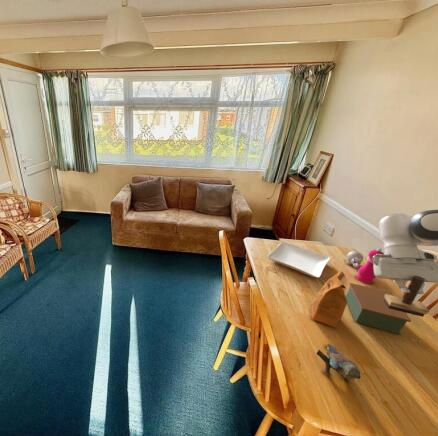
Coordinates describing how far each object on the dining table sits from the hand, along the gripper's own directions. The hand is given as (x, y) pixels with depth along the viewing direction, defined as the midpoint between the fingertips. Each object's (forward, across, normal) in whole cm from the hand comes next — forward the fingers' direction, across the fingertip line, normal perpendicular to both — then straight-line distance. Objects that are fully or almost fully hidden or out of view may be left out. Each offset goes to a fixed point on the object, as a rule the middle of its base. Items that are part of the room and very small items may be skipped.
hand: (412, 293), depth 82 cm
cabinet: (+8, +2, +25) cm, 26 cm away
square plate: (-19, -12, +52) cm, 57 cm away
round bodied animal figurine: (-18, +18, +52) cm, 58 cm away
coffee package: (+11, -18, +22) cm, 31 cm away
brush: (+5, 0, +6) cm, 8 cm away
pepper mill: (-10, +16, +43) cm, 47 cm away
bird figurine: (+28, -29, +4) cm, 41 cm away
